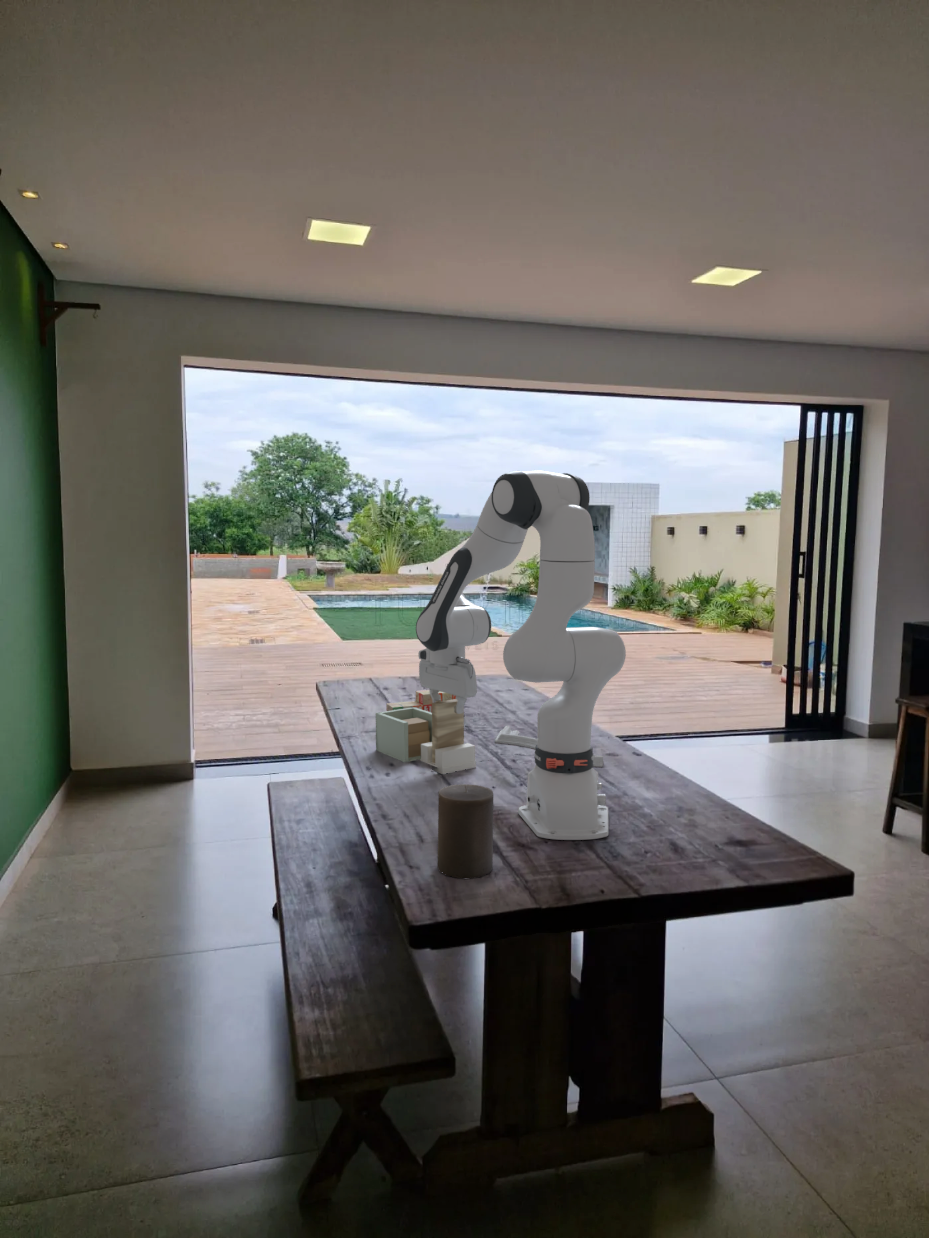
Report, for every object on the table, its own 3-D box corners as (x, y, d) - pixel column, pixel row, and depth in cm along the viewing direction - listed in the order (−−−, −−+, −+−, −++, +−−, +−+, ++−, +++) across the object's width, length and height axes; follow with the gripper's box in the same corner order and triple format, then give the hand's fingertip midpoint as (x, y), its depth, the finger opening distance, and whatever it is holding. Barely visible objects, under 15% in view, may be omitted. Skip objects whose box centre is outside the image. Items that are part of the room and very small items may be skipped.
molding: (613, 767, 207) (614, 755, 207) (578, 774, 200) (578, 763, 200) (511, 732, 242) (511, 723, 242) (477, 738, 235) (477, 728, 235)
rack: (443, 758, 212) (443, 716, 211) (404, 766, 205) (403, 722, 204) (414, 747, 224) (414, 707, 222) (376, 754, 216) (375, 712, 215)
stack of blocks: (392, 739, 233) (392, 696, 231) (386, 734, 238) (385, 692, 237) (462, 732, 241) (462, 691, 239) (454, 727, 246) (454, 687, 245)
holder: (475, 767, 205) (475, 745, 204) (443, 774, 199) (442, 752, 198) (452, 758, 213) (452, 737, 212) (420, 765, 207) (420, 743, 206)
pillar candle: (458, 884, 137) (459, 797, 136) (426, 864, 145) (427, 782, 144) (504, 870, 143) (505, 786, 141) (471, 852, 151) (472, 773, 149)
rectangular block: (463, 758, 207) (463, 700, 205) (437, 764, 202) (437, 704, 201) (458, 756, 209) (458, 698, 207) (432, 762, 204) (431, 702, 202)
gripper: (483, 658, 196) (483, 715, 198) (435, 649, 213) (435, 701, 214) (461, 661, 192) (462, 719, 194) (414, 651, 209) (415, 704, 210)
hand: (447, 709), depth 204 cm, fingers open, 8 cm apart
